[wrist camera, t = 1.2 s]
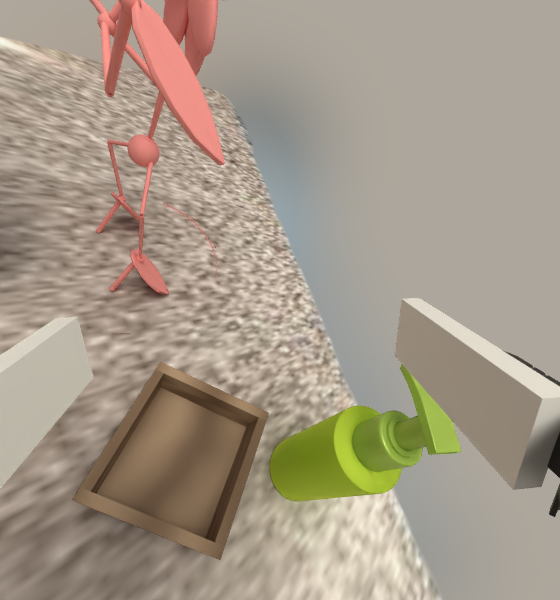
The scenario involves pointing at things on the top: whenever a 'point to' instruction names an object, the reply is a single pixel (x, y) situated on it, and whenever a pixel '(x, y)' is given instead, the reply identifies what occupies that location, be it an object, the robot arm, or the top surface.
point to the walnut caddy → (178, 461)
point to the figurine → (160, 90)
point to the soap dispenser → (360, 449)
